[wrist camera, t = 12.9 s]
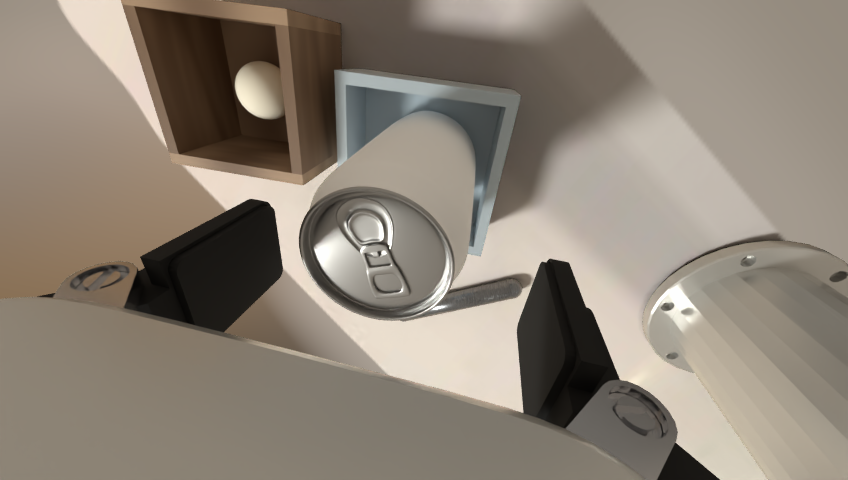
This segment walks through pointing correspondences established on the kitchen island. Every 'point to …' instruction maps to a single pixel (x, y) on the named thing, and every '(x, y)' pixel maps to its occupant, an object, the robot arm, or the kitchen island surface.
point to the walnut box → (215, 84)
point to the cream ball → (261, 89)
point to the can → (394, 220)
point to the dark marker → (476, 297)
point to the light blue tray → (463, 102)
